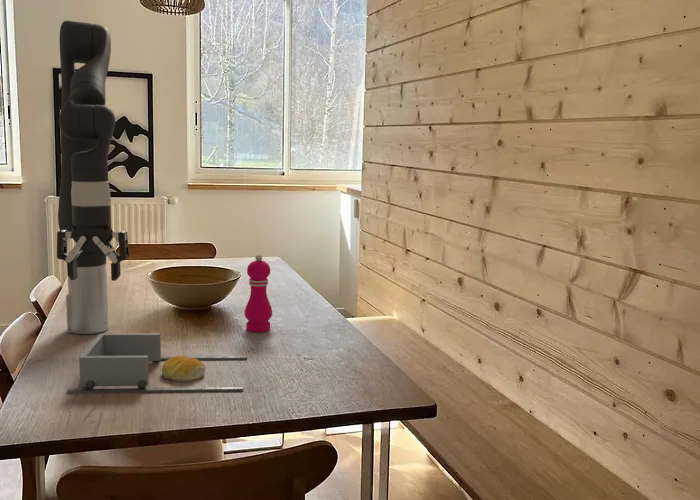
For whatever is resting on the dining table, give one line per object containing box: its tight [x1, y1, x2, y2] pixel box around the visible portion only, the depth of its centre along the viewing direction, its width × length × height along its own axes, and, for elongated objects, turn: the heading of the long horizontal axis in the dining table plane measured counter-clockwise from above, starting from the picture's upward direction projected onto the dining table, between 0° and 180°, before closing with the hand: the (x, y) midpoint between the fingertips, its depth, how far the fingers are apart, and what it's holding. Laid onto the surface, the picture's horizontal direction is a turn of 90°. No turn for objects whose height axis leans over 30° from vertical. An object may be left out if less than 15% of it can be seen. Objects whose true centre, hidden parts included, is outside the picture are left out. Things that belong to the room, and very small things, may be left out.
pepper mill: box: [244, 254, 273, 333], centre depth 176 cm, size 7×7×20 cm
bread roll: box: [161, 355, 206, 383], centre depth 143 cm, size 8×9×4 cm
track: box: [66, 355, 248, 394], centre depth 143 cm, size 34×20×1 cm, turn 96°
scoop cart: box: [78, 332, 162, 389], centre depth 141 cm, size 13×18×6 cm
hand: (94, 279), depth 142 cm, fingers open, 8 cm apart
